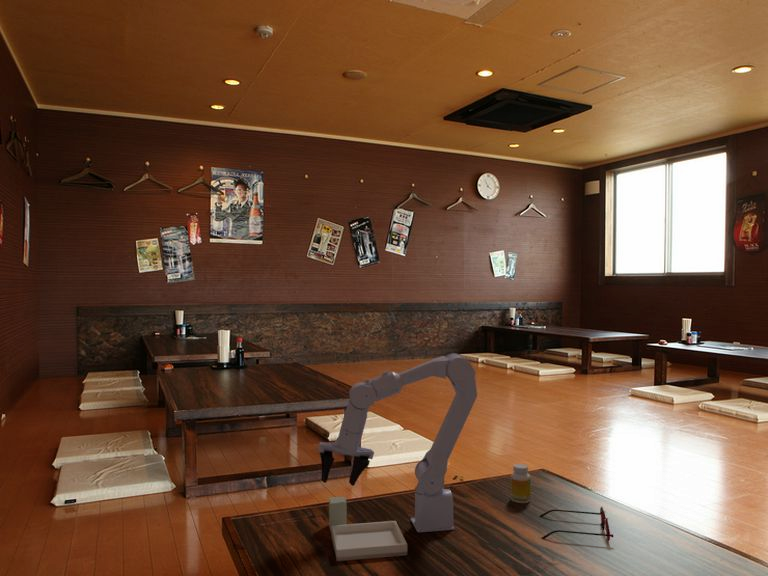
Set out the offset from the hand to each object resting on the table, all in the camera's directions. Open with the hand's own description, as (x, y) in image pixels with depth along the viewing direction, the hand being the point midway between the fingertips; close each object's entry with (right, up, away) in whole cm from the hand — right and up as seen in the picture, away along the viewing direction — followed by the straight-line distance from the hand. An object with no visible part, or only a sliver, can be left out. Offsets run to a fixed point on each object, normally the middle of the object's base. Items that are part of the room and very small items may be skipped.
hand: (337, 482), depth 145 cm
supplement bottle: (+50, -12, +19) cm, 55 cm away
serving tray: (+8, -12, -9) cm, 17 cm away
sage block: (0, -12, +1) cm, 12 cm away
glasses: (+59, -12, -1) cm, 60 cm away
